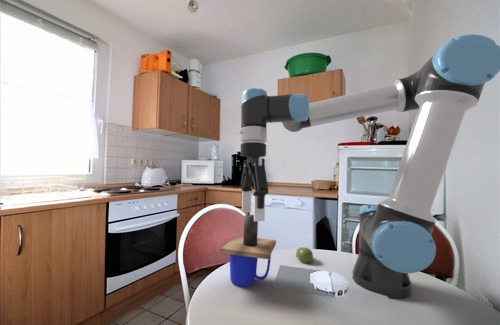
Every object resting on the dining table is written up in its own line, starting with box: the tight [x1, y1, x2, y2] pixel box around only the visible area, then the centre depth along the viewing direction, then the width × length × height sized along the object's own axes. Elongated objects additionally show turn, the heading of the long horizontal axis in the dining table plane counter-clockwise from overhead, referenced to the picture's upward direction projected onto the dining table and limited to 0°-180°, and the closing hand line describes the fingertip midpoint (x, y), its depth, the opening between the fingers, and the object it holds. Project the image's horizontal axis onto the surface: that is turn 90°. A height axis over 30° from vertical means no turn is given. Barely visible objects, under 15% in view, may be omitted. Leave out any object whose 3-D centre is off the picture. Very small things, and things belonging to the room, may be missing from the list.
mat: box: [272, 264, 335, 299], centre depth 68 cm, size 16×16×1 cm
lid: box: [219, 214, 277, 260], centre depth 66 cm, size 13×13×9 cm
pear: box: [295, 246, 314, 264], centre depth 84 cm, size 6×5×10 cm
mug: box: [229, 254, 272, 288], centre depth 66 cm, size 8×12×10 cm
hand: (252, 216), depth 66 cm, fingers open, 13 cm apart
